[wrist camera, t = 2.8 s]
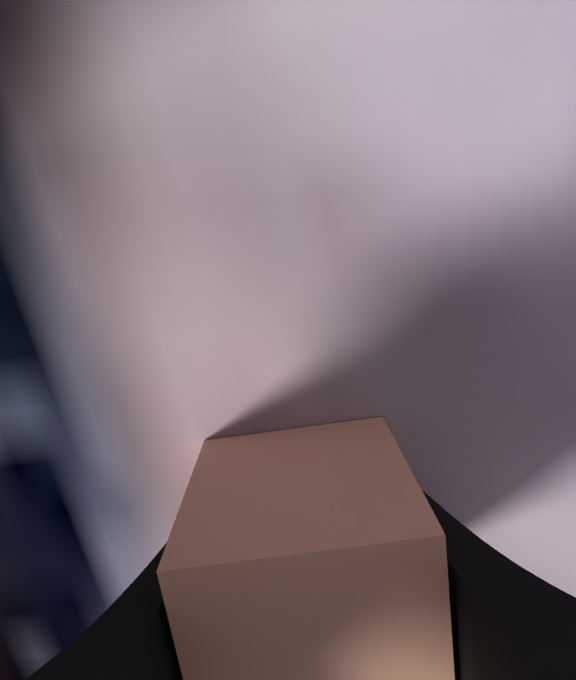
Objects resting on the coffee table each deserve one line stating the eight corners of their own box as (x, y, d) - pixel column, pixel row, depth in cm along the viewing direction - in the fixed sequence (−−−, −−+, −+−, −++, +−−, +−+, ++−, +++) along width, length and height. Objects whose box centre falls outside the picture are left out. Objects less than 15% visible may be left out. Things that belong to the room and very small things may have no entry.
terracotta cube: (383, 416, 13) (445, 535, 8) (397, 568, 14) (459, 753, 9) (204, 440, 13) (156, 571, 8) (234, 589, 14) (208, 782, 9)
